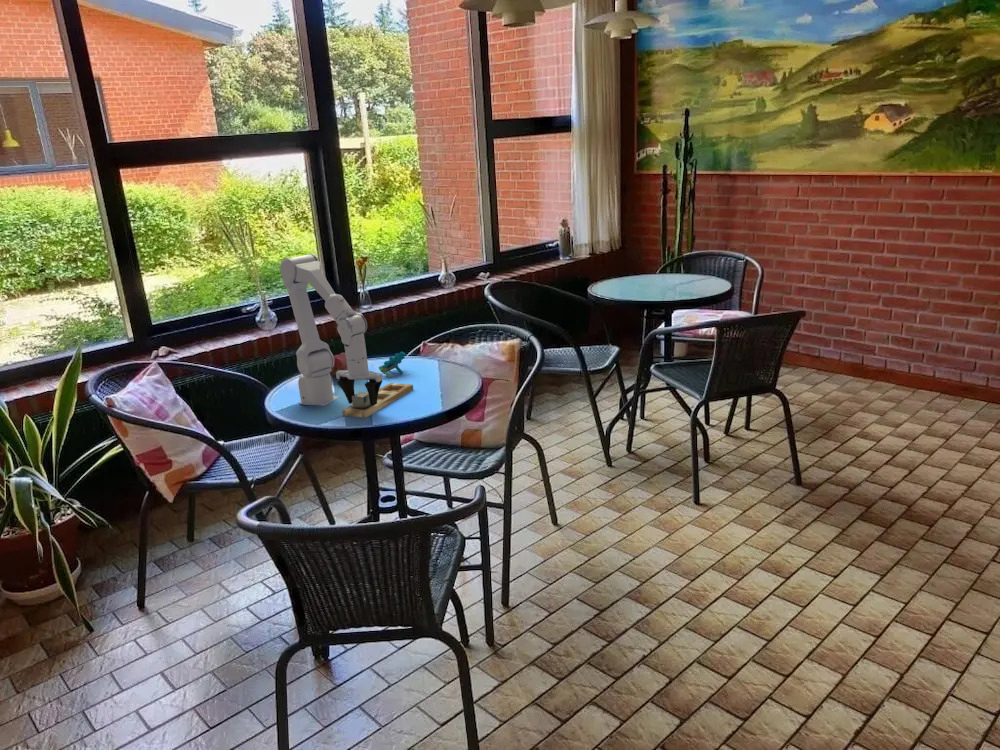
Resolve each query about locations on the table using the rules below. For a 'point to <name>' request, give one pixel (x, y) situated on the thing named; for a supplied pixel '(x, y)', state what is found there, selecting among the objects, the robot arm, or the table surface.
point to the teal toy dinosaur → (392, 363)
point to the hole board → (381, 399)
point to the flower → (339, 363)
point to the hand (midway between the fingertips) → (362, 403)
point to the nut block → (361, 401)
